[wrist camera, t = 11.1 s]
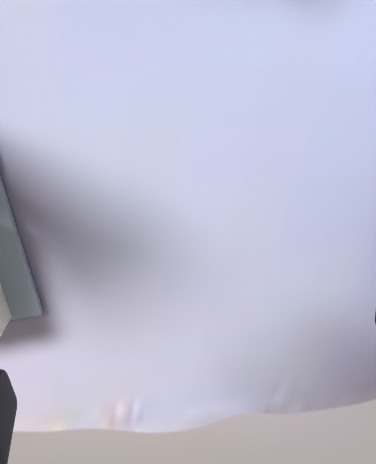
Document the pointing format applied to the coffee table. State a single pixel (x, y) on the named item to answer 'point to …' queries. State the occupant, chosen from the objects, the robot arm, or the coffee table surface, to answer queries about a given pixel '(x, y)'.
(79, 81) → the coffee table surface
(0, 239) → the board
